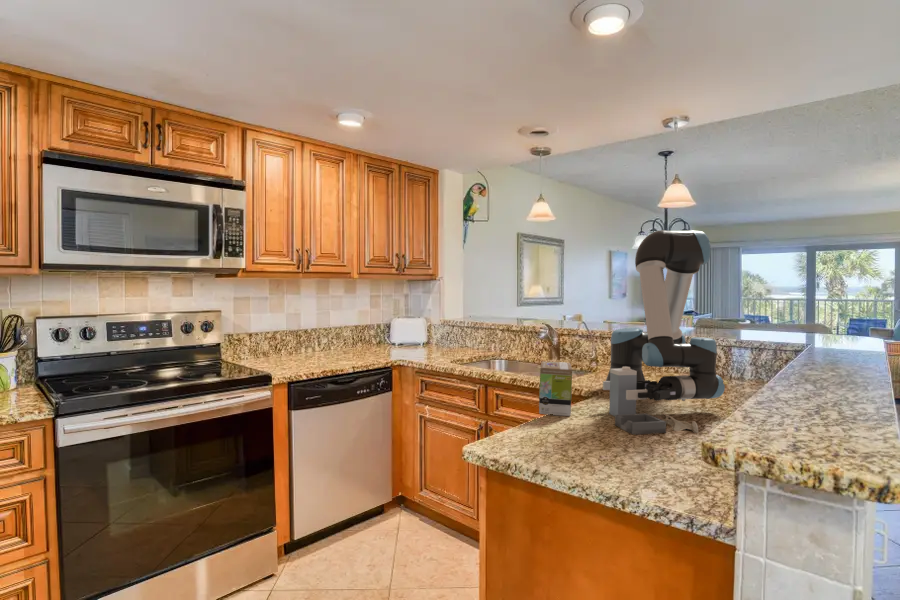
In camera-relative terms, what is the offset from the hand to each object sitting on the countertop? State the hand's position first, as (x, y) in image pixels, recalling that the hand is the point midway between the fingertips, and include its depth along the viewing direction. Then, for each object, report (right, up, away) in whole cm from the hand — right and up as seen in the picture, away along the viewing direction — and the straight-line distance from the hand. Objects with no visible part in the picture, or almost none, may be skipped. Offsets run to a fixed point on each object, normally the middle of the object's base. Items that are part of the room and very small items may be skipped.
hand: (614, 390), depth 150 cm
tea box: (-17, -8, +7) cm, 20 cm away
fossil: (+15, -9, -11) cm, 21 cm away
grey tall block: (+3, -8, +1) cm, 9 cm away
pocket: (+3, -8, -13) cm, 16 cm away
